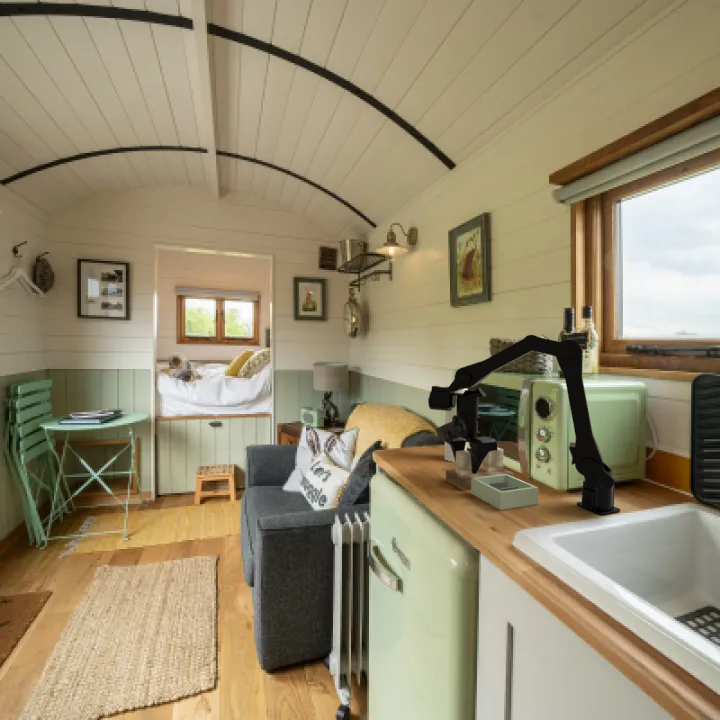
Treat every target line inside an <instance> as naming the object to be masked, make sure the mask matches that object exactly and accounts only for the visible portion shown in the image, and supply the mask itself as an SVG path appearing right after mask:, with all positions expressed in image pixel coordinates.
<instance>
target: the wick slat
mask: <svg viewBox="0 0 720 720" xmlns="http://www.w3.org/2000/svg"><path fill="white" fill-rule="evenodd" d="M482 466H483V470H484V471H486V472H488V473H490V472H498V471H503V469H504V448H500V447H498V450H495V451H491V452H488V454H487V455H486V457H485V458H484V460H483V462H482Z"/></svg>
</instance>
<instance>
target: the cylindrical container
mask: <svg viewBox="0 0 720 720" xmlns="http://www.w3.org/2000/svg"><path fill="white" fill-rule="evenodd" d="M449 386H450V384H445V387H449ZM465 390H469V388H467V389H462V390H459V391H455V393H464V391H465ZM456 409H457V396H456V406H455V408H452V410H451V411H445V412H444V424H447V423H450V422H452V417H453V415H456ZM467 444H468V442H466V445H465V450H467ZM443 455H444V460H445V461H447V460H448V461H447V462H450V461H452V462H451V463H456V462H455V459H454V455H453V452H452V449H451V446H450V445H449V444H448V443H446V442H445V441H444V454H443Z"/></svg>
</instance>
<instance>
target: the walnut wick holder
mask: <svg viewBox="0 0 720 720" xmlns="http://www.w3.org/2000/svg"><path fill="white" fill-rule="evenodd" d="M500 474H508V475H510V476H513V477H515V476H514V475H515V473H514V472H512V471H510V470H507V469H505V468H503V471H498V472H490V473H488V472H486V471H484V470H483V465H480V467H479V469H478V471H477V473H476V474H473V475H464V476H460V475H458V474H456V468H454V469H446V470H445V481H446V482H447V483H449V484H450V483H451V485H452V486H454V487H456V488H457V489H459V490H461V491H469V490H471V479H472V478H475V477H484V476H492V475H500Z"/></svg>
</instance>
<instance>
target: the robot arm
mask: <svg viewBox="0 0 720 720" xmlns="http://www.w3.org/2000/svg"><path fill="white" fill-rule="evenodd" d="M532 352H537V353H540V354H541V353H542V354H544V355H548V356H552V357H555V359H556V360H557V364H558V366H559V369H560V371H561V372H562V376H563V378H564V380H565V386H566V392H567V398H568V402H569V407H570V413H571V419H572V422H573V423H572V424H573V429H574V435H575V441H574V442H573V441H570V442H569V446H568V449H569V452H570V455H571V465H572V466H573V465H574V467H575V469H576V471H577V473H579V474H580V475H581V476H583V478H584V480H582V488H581V501H576V506H579V507H582V508H584V509H586V510H589V511H590V512H593V513H596V514H598V515H608V514H612V513H618V512H621V508H619V507H616V506H615V477H614V471H613V470H612V469H611V468H610V467H609V466H608V465H607V463H605V462H604V458H603V455H602V452H601V450H600V447H599V445H598V442H597V440H596V438H595V436H594V432H593V428H592V422H591V417H590V412H589V411H590V410H589V407H588V406H589V405H588V401H587V396H586V389H585V385H584V380H583V367H584V366H583V362H584V361H583V360H584V358H583V357H584V356H583V355H584V353H583V346H582V345H581V344H580V343H579V342H577V341H576V340H573V339H565V340H564V339H563V340H561V341H558V340H552V339H549V338H544V337H540V336H538V335H536V334H527V335H526V336H525V337H524V338H522V339H520V340H519V341H517V342H515V343H514V344H511V345H510V346H507V347H506V348H504V349H502V350H501V351H498V352H497V353H495V354H493V355H490V357H488V358H485V359H484V360H481V361H478V362H474V363H471V364H468V365H465V366H462V367H460V368H458V369H457V370H456V371H455V374H454V380H453V381H452V382H451V383H450V384H449V385H450V386H449V387H446V386H439V385H433V386H431V390H430V392H429V396H428V402H427V403H428V408H429V410H432V411H433V410H434V411H451V410H452V408H455V406H456V396H457V409H456V415H453V417H452V422H450V423H447V424H445V423H444V424H443V425H441V426H438V427H437V428H436V431H437V432H436V433H437V435H438V439H439V441H443V442H444V443H445V442H446V443H448V444H449V445H450V446H451V449H452V452H453V455H454V459H455V462H454V463H456V451H463V450H465V445H466V446H467V443H468V444H469V445H468V446H469V448H466V450H468V452H469V453H470V454H471V468H472V473H473V474H475V473H477V471H478V469H479V467H480V466H482V465H483V460H484V458H485V457H486V455H487V454H488V452H491V451H495V450H498V448H499V447H498V441H497V439H496V438H492V437H489V436H482V432H480V431H479V430H478V429H479V428H478V427H479V422H481V421H482V416H481V417H480V416H479V398H485V397H487V394H486V393H485V392H484V391H483V390H482V388H481V387H478V388H476V390H473V389H471V388H473V387H477V386H478V385H479V384H481V383H482V382H483V381H484V380H486V379H487V378H488V377H489V376H490V375H492V374H493V373H494V372H496V371H498V370H500V369H501V368H503V367H506V366H507V365H509V364H511V363H513V362H514V361H515V362H516V360H518V359H520V358H523V357H525V356H526V355H528V354H530V353H532ZM467 388H468V390H465V391H464V393H455V391H459V390H462V389H467ZM470 389H471V390H470ZM466 442H467V443H466Z"/></svg>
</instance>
